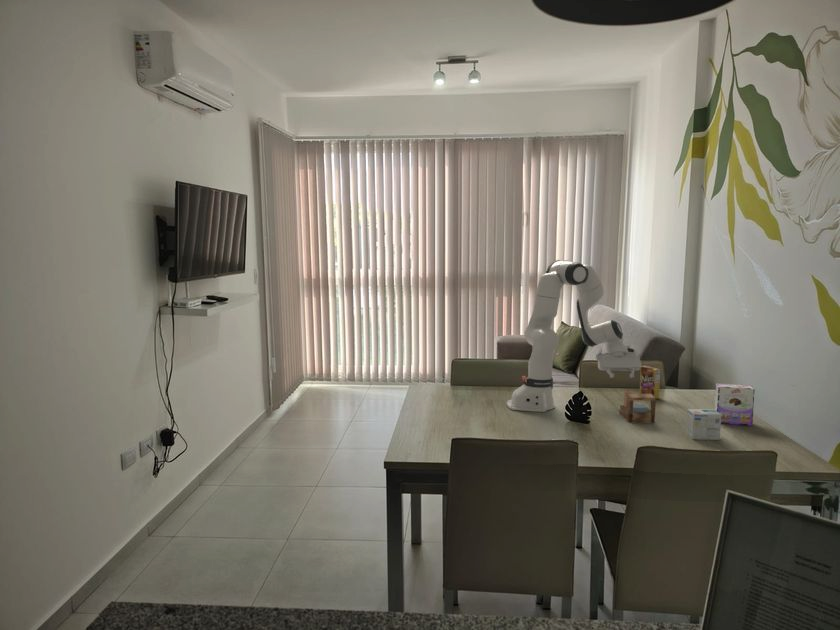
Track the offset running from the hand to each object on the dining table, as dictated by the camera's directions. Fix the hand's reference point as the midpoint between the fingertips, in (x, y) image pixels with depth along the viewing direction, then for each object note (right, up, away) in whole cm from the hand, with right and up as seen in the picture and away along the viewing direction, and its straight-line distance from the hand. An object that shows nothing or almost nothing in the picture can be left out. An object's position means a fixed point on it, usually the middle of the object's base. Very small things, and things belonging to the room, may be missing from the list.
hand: (622, 377), depth 259 cm
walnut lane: (-1, -16, -19) cm, 25 cm away
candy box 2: (+38, -17, -26) cm, 49 cm away
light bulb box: (+16, -19, -43) cm, 50 cm away
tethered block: (-1, -15, -15) cm, 22 cm away
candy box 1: (+19, -12, +14) cm, 26 cm away
